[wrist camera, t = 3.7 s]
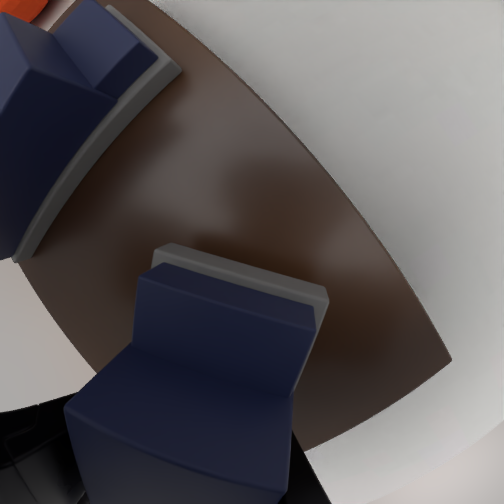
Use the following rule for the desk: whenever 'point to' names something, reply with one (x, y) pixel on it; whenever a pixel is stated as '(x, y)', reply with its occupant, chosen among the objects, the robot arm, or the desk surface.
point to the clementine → (23, 8)
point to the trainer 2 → (198, 386)
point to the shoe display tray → (233, 235)
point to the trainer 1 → (65, 110)
